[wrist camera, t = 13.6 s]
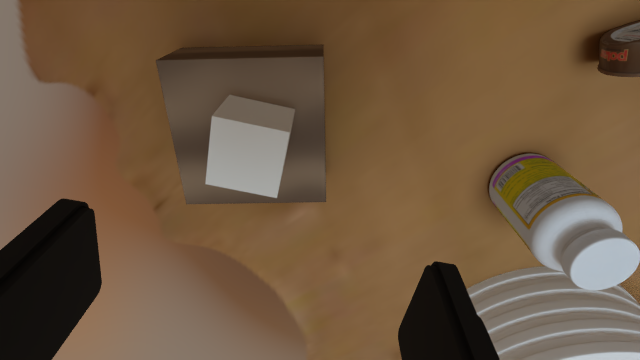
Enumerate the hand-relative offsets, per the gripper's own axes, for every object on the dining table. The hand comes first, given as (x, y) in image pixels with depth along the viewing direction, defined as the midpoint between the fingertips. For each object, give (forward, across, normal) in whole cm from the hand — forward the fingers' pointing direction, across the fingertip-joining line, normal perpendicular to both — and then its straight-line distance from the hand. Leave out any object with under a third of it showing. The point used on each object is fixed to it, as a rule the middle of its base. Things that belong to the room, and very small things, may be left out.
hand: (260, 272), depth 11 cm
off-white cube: (+20, +3, +4) cm, 20 cm away
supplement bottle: (+26, -23, +7) cm, 35 cm away
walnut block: (+26, +4, +5) cm, 26 cm away
